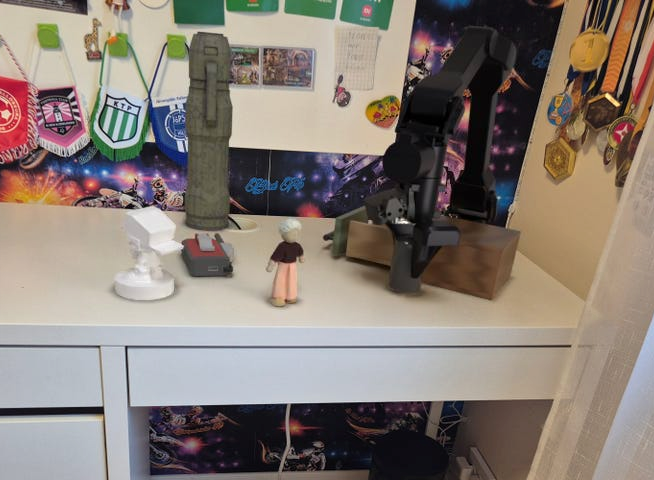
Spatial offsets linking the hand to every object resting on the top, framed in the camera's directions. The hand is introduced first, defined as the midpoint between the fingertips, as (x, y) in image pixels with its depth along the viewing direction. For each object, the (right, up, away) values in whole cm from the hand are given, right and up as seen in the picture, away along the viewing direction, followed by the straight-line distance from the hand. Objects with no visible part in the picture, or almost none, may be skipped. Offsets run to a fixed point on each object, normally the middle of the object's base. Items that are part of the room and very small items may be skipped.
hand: (406, 272), depth 104 cm
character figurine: (-40, -4, -8) cm, 41 cm away
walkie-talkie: (-34, +3, +7) cm, 34 cm away
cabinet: (+10, 0, +10) cm, 14 cm away
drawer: (-3, +6, +15) cm, 17 cm away
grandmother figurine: (-20, -6, -7) cm, 22 cm away
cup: (0, -2, +1) cm, 3 cm away
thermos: (-37, +13, +26) cm, 47 cm away
